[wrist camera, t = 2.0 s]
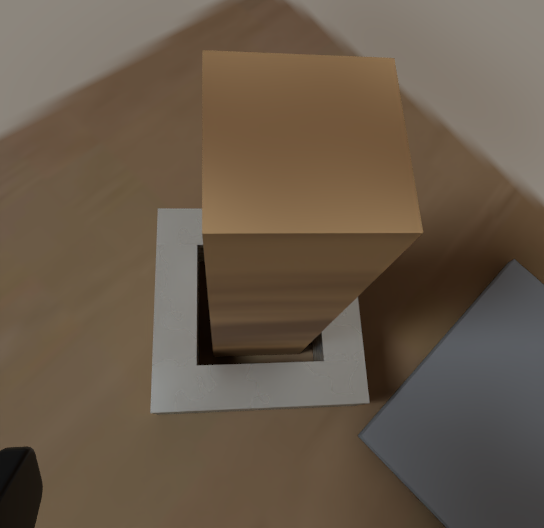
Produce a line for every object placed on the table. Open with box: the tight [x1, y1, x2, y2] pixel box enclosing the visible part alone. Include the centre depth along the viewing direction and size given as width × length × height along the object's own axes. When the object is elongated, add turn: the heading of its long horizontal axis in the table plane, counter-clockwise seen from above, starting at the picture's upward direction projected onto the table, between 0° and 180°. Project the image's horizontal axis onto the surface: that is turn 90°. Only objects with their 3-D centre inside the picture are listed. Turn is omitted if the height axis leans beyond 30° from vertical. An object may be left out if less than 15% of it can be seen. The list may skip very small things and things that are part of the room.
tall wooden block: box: [202, 50, 423, 357], centre depth 14 cm, size 4×4×13 cm
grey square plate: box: [358, 259, 544, 528], centre depth 20 cm, size 11×11×1 cm
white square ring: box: [151, 209, 370, 415], centre depth 19 cm, size 8×8×2 cm
